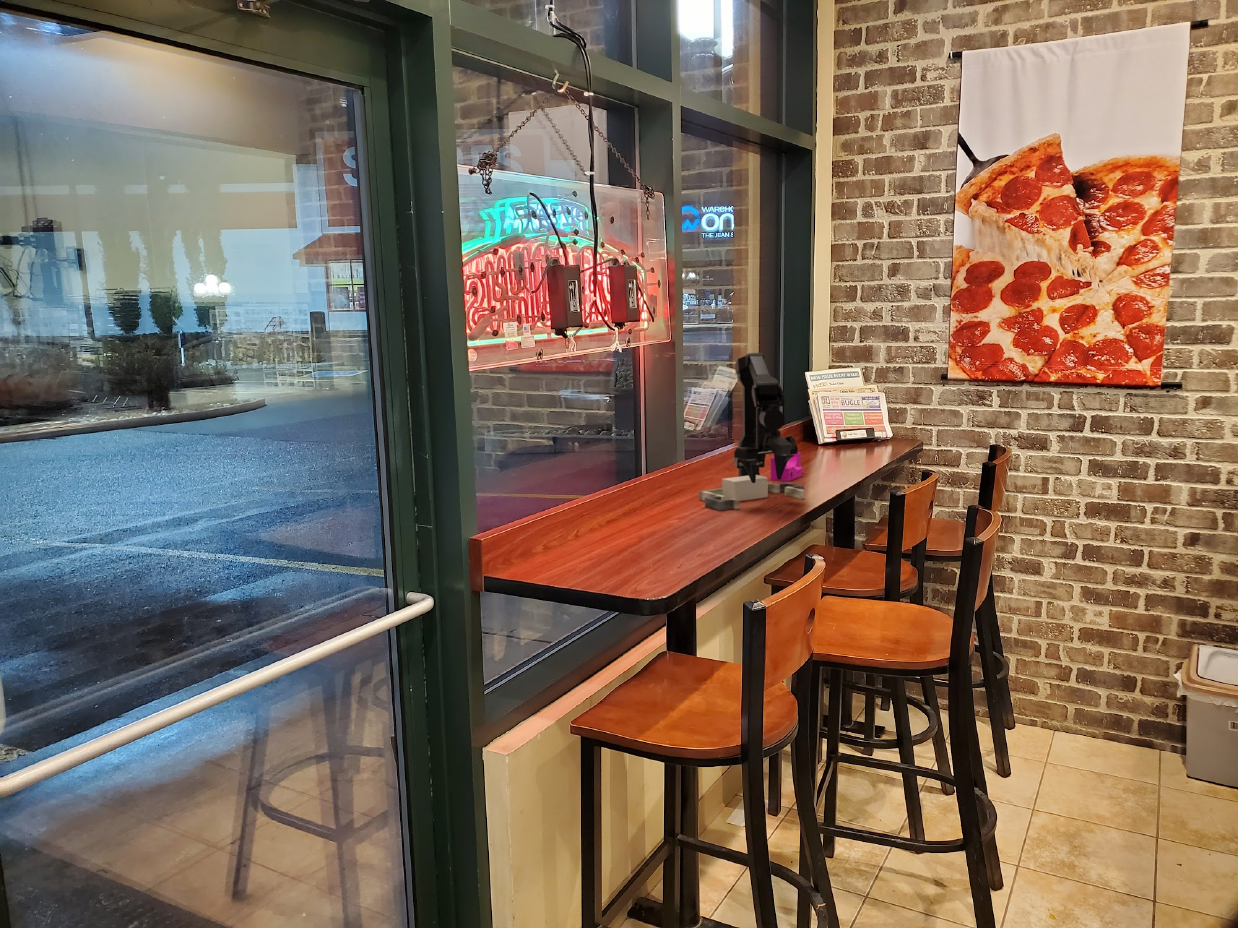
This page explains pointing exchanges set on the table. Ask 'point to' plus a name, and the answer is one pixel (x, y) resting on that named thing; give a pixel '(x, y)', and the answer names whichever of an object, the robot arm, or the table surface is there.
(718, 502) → the trap lane
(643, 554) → the table surface
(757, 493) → the push block
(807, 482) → the table surface
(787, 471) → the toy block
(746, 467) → the robot arm
